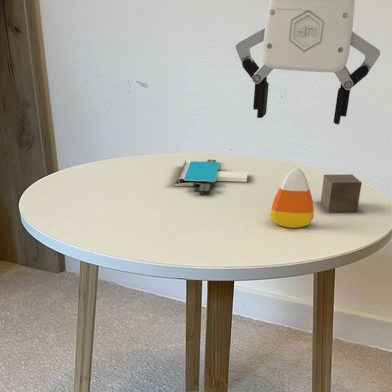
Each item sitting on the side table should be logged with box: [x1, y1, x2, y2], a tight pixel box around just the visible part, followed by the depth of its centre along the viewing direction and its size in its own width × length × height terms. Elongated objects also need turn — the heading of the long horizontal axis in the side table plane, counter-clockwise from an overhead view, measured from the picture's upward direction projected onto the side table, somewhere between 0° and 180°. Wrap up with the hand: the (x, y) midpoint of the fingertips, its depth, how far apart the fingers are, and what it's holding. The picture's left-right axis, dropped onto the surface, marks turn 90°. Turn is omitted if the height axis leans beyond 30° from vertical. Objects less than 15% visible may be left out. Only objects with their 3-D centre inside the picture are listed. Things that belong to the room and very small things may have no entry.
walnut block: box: [320, 173, 363, 213], centre depth 90 cm, size 4×4×4 cm
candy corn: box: [269, 167, 315, 229], centre depth 82 cm, size 6×3×8 cm, turn 81°
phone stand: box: [174, 159, 248, 196], centre depth 103 cm, size 20×12×2 cm, turn 175°
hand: (298, 119), depth 77 cm, fingers open, 9 cm apart
